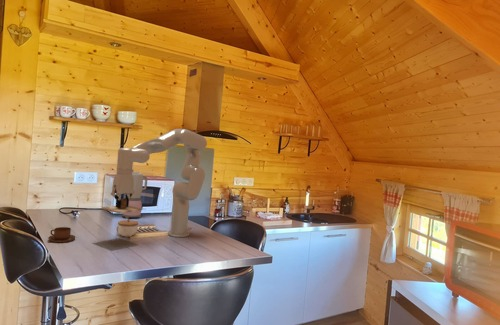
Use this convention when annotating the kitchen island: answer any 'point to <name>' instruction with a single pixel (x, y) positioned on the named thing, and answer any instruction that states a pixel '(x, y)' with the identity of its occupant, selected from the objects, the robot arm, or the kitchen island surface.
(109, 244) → the rubber mat
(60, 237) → the cup and saucer
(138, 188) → the blender
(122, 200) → the birch lid
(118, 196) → the robot arm
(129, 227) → the lidded jar
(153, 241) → the kitchen island surface
